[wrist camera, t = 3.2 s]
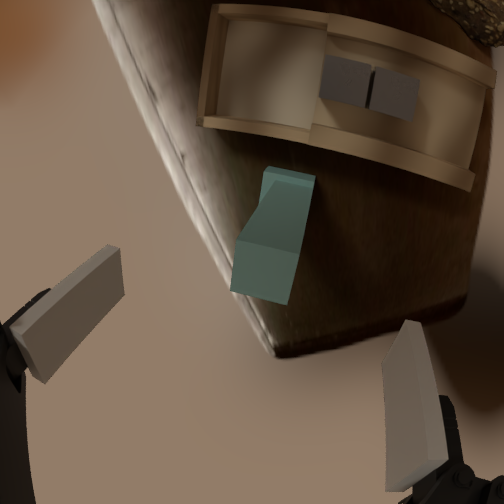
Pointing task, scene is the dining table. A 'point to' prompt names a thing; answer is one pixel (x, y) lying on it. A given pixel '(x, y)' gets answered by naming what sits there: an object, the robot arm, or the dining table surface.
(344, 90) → the chip
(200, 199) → the dining table surface
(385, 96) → the chip
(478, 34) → the bread roll
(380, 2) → the dining table surface
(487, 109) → the dining table surface
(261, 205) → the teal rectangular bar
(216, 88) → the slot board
